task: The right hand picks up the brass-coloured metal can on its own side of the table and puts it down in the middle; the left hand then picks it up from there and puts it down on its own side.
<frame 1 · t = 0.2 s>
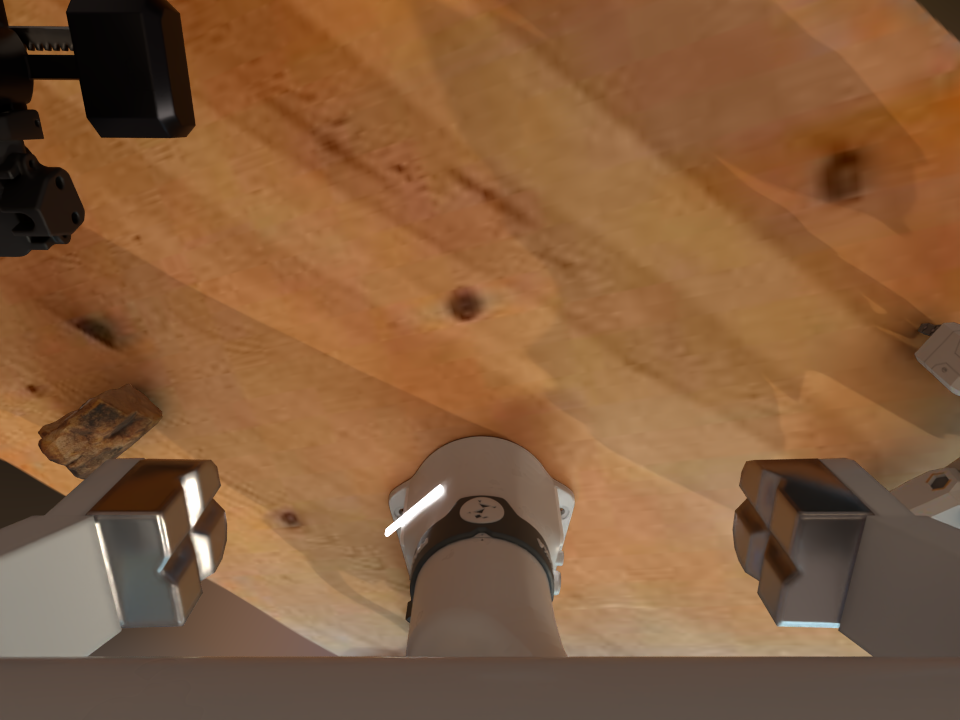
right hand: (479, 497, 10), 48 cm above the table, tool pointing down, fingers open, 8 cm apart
decorative rock: (120, 409, 62), on the table
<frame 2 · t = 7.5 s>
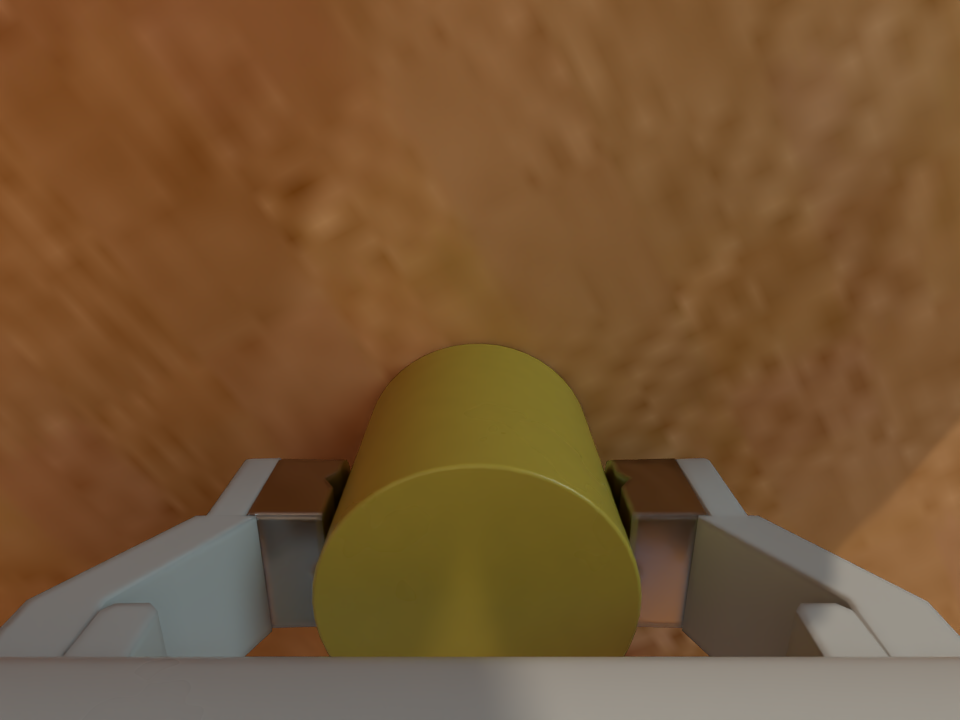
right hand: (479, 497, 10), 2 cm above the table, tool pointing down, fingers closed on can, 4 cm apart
can: (477, 446, 12), on the table, touching right hand
when the right hand's fingers open (3 cm above the table, at t = 19.6 s): can stays where it is, on the table.
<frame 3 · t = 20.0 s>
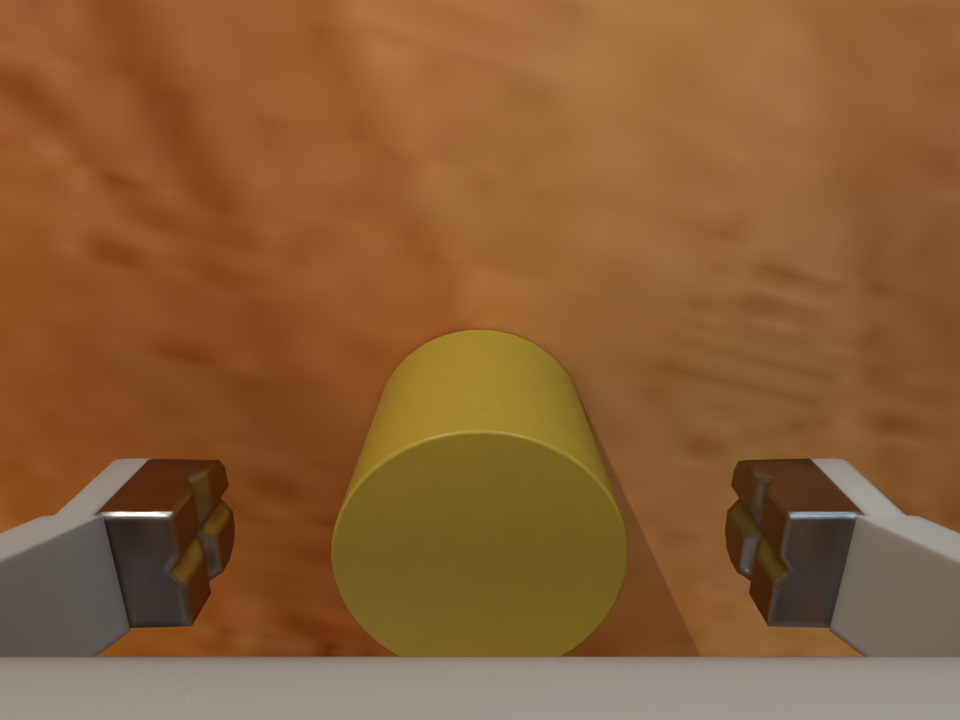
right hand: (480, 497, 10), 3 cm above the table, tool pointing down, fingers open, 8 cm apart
can: (479, 426, 12), on the table
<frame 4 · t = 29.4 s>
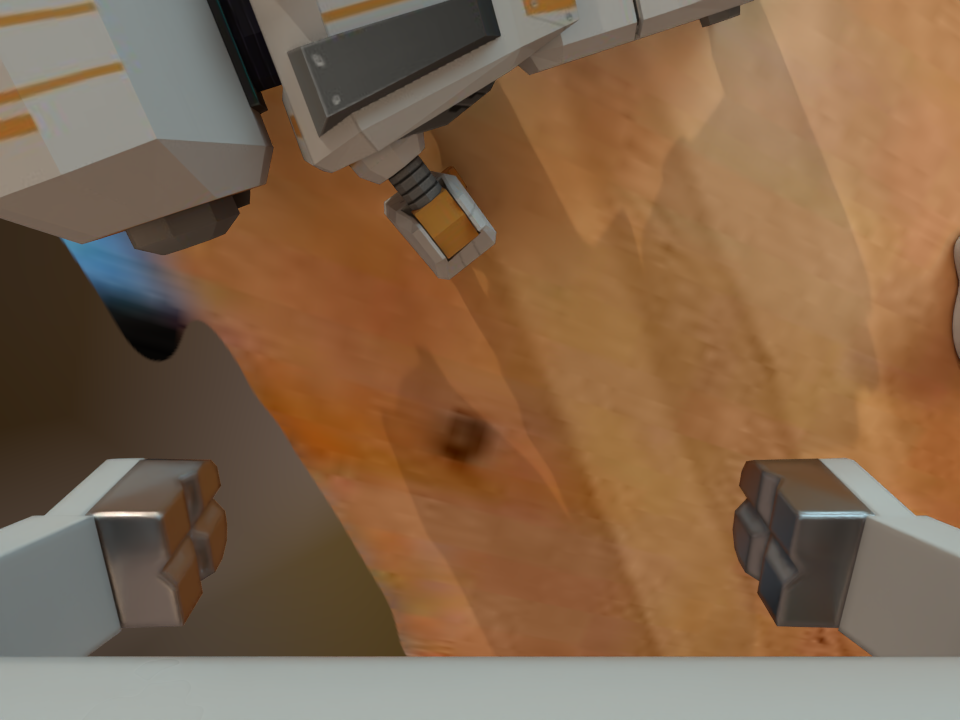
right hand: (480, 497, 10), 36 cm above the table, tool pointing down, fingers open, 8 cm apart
robot: (420, 22, 40), on the table
when the left hand's fingers open (2 cm above the table, at t = 35.8 s): can stays where it is, on the table.
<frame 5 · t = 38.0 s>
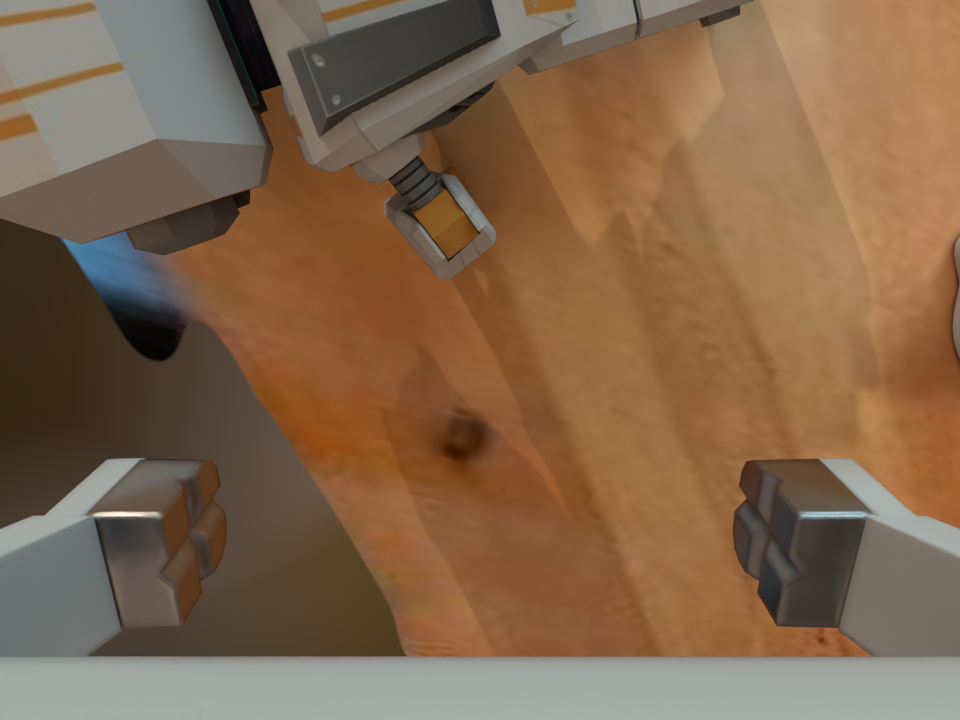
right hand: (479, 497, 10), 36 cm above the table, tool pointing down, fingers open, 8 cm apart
robot: (420, 22, 40), on the table
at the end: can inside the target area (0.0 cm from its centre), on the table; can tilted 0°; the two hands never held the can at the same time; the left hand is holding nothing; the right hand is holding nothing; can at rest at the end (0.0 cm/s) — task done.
